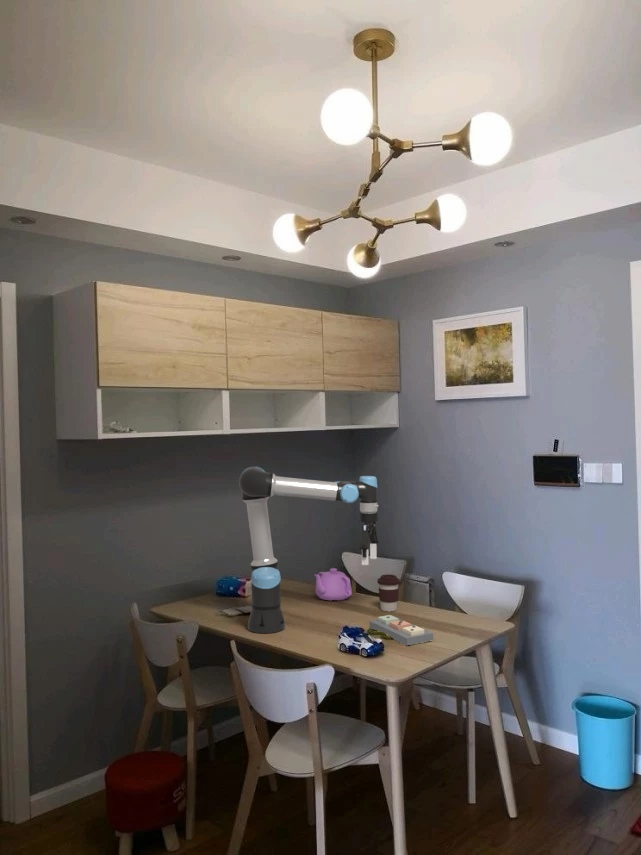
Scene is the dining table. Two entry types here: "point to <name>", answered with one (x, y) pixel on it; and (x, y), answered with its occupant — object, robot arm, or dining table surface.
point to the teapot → (333, 585)
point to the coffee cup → (388, 592)
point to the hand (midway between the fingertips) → (369, 561)
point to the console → (400, 633)
